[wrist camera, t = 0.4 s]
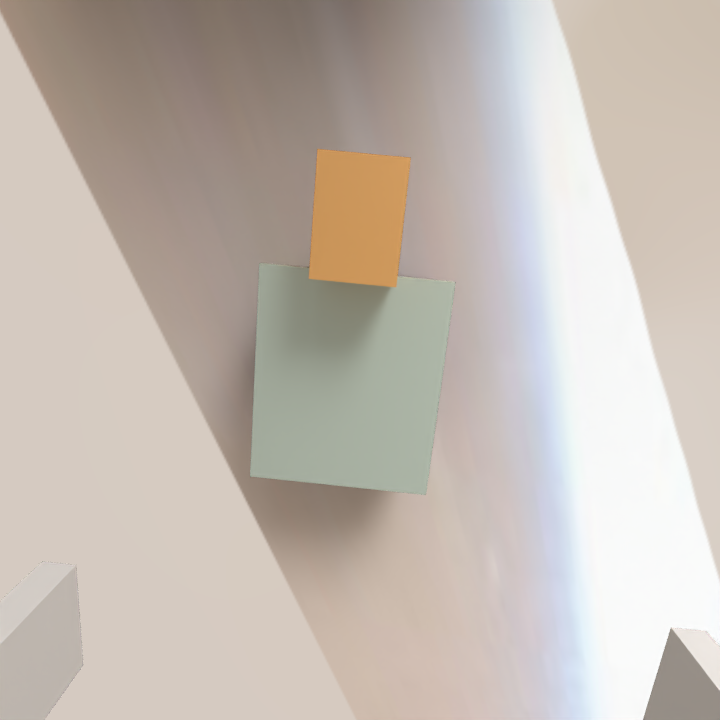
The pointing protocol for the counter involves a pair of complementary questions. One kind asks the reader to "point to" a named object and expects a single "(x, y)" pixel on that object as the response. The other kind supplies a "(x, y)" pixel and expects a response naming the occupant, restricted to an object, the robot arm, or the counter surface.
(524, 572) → the counter surface
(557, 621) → the counter surface
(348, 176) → the lid
